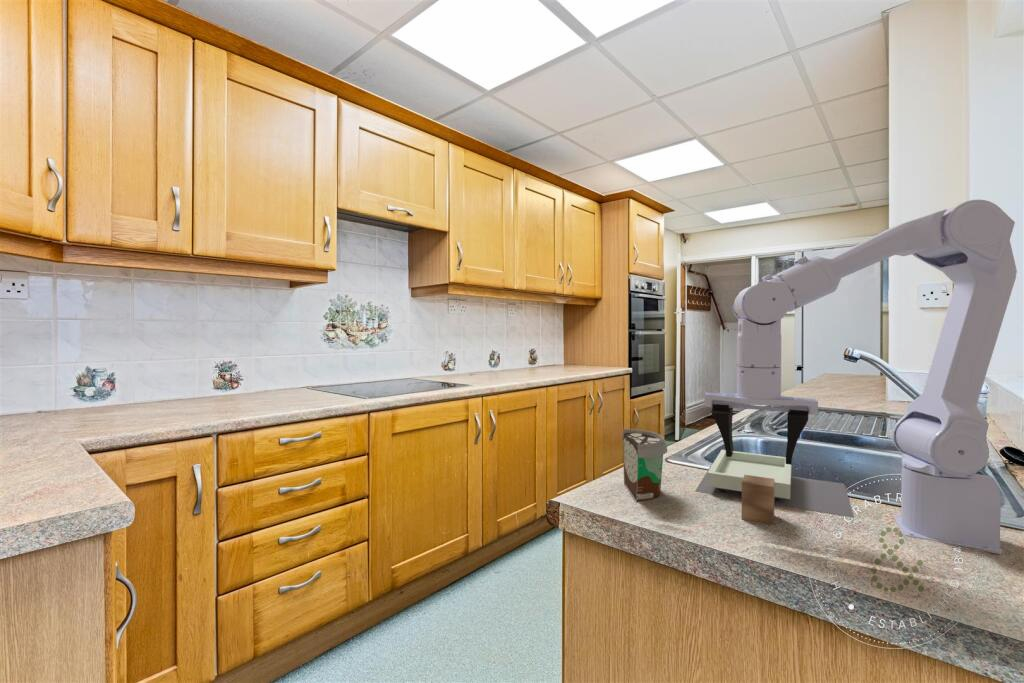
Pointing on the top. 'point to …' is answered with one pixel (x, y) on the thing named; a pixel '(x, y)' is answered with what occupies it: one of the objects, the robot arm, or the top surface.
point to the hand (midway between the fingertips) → (758, 458)
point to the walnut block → (758, 499)
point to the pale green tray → (750, 472)
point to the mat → (801, 496)
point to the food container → (643, 463)
